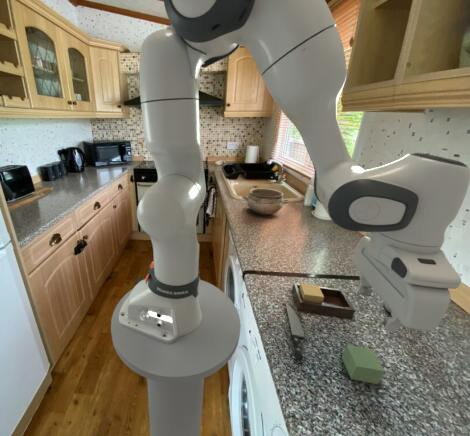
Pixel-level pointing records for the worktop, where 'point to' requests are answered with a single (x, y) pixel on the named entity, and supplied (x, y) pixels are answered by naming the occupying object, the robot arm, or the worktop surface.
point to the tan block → (311, 293)
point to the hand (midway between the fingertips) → (375, 309)
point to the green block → (362, 364)
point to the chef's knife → (295, 329)
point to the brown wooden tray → (326, 303)
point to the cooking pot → (265, 200)
